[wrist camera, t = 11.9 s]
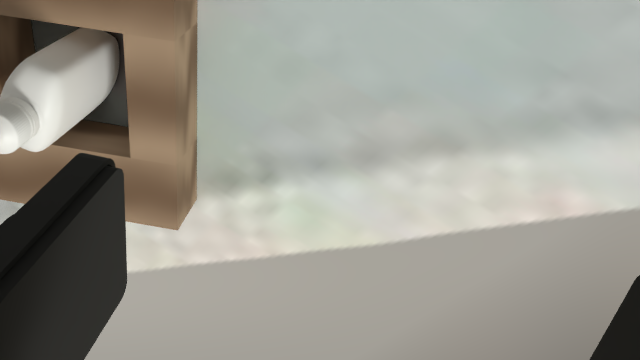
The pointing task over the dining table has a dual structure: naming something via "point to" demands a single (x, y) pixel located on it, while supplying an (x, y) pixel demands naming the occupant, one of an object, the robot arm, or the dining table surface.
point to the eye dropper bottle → (57, 89)
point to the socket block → (142, 102)
